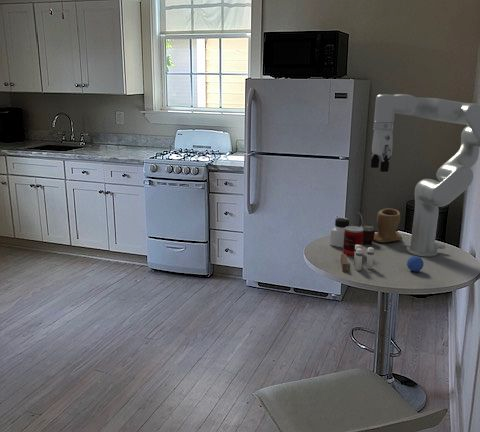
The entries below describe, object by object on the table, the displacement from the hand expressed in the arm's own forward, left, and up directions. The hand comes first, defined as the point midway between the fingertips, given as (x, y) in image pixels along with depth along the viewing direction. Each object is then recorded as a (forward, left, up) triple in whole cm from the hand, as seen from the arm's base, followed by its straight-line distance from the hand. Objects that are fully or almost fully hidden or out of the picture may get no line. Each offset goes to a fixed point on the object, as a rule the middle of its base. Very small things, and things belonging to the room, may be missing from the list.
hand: (379, 169), depth 205 cm
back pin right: (+11, +13, -36) cm, 40 cm away
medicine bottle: (+9, -13, -36) cm, 39 cm away
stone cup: (-15, -18, -36) cm, 43 cm away
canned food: (+8, -1, -36) cm, 37 cm away
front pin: (+7, +17, -36) cm, 40 cm away
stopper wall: (+17, +14, -36) cm, 42 cm away
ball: (-9, +21, -33) cm, 40 cm away
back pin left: (+12, +18, -36) cm, 42 cm away
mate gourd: (-3, -15, -36) cm, 39 cm away
